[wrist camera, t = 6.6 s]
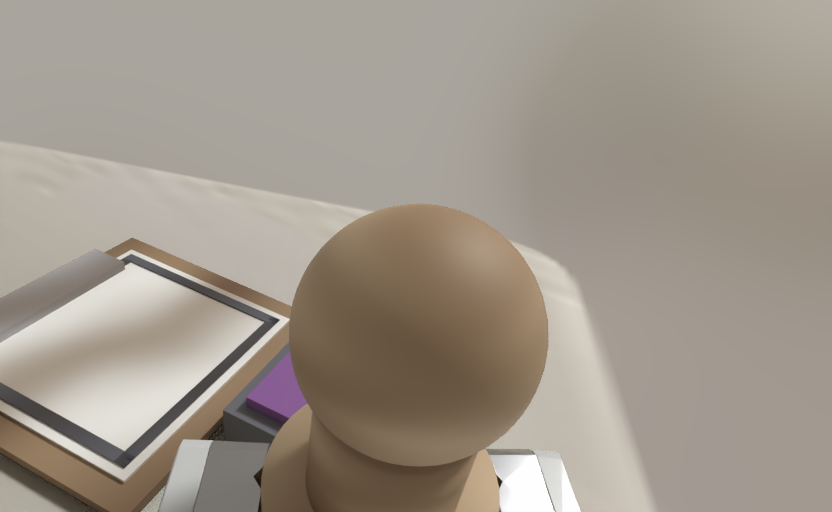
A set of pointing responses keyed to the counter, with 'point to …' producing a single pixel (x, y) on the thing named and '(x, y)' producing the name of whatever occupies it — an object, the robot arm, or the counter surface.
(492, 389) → the stamp
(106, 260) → the clipboard
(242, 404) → the ink pad
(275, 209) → the counter surface
